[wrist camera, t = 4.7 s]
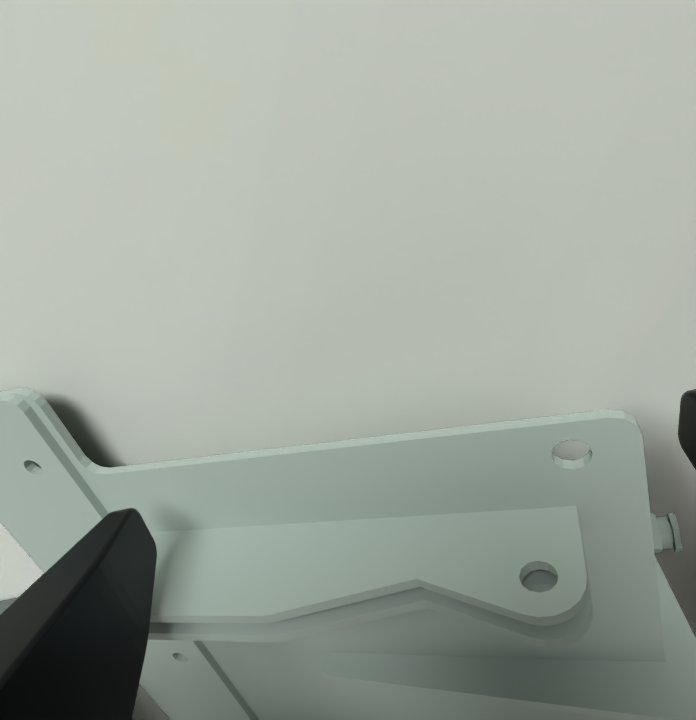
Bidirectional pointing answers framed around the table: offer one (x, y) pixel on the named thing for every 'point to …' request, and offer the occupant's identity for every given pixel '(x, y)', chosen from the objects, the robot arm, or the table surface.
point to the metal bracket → (384, 570)
